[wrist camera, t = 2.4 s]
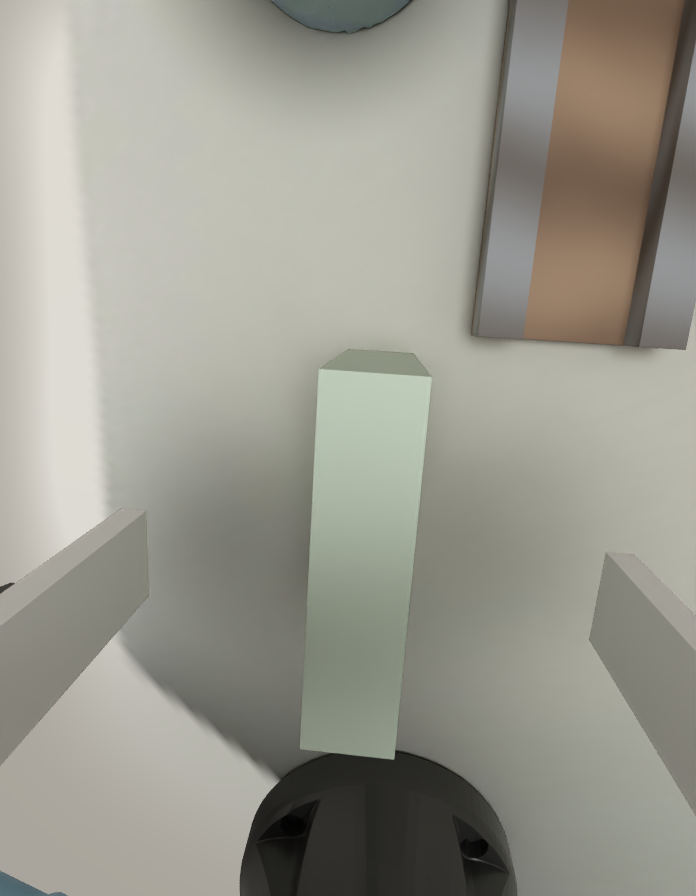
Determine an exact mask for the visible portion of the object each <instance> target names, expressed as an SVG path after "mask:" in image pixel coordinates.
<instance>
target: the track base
mask: <svg viewBox="0 0 696 896" xmlns="http://www.w3.org/2000/svg"><path fill="white" fill-rule="evenodd" d="M695 301H696V0H509V8H508V16H507V25H506V34H505V43H504V52H503V60H502V69H501V78H500V87H499V96H498V105H497V113H496V122H495V131H494V140H493V149H492V157H491V166H490V175H489V184H488V193H487V201H486V210H485V219H484V228H483V237H482V245H481V254H480V263H479V272H478V281H477V290H476V298H475V307H474V316H473V325H472V334H471V335H473V336H481V337H496V338H512V339H535V340H550V341H565V342H581V343H596V344H611V345H625V346H635V347H649V348H664V349H679V350H686V345H687V341H688V336H689V331H690V326H691V321H692V316H693V311H694V306H695Z"/></svg>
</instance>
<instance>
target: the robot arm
mask: <svg viewBox="0 0 696 896" xmlns="http://www.w3.org/2000/svg"><path fill="white" fill-rule="evenodd" d="M148 596H149V590H148V556H147V523H146V511H142V510H131V509H120V510H118V511H117V512H115V513H114V514H112V515H111V516H110V517H108V518H107V519H105V520H104V521H103V522H101V523H100V524H98V525H97V526H96V527H94V528H93V529H91V530H90V531H89V532H87V533H86V534H84V535H83V536H81V537H80V538H79V539H77V540H76V541H74V542H73V543H72V544H70V545H69V546H67V547H66V548H64V549H63V550H62V551H60V552H59V553H57V554H56V555H55V556H53V557H52V558H50V559H49V560H47V561H46V562H45V563H43V564H42V565H40V566H39V567H38V568H36V569H35V570H33V571H32V572H31V573H29V574H28V575H26V576H25V577H24V578H22V579H21V580H19V581H18V582H16V583H9V584H7V585H4V586H1V587H0V766H1V764H2V763H3V762H4V761H5V760H6V759H7V758H8V756H9V755H10V754H11V753H12V752H13V751H14V750H15V749H16V747H17V746H18V745H19V744H20V743H21V742H22V740H23V739H24V738H25V737H26V736H27V735H28V734H29V732H30V731H31V730H32V729H33V728H34V727H35V726H36V724H37V723H38V722H39V721H40V720H41V719H42V718H43V716H44V715H45V714H46V713H47V712H48V711H49V710H50V708H51V707H52V706H53V705H54V704H55V703H56V702H57V700H58V699H59V698H60V697H61V696H62V695H63V694H64V692H65V691H66V690H67V689H68V688H69V686H70V685H71V684H72V683H73V682H74V681H75V680H76V679H77V677H78V676H79V675H80V674H81V673H82V672H83V671H84V669H85V668H86V667H87V666H88V665H89V664H90V663H91V661H92V660H93V659H94V658H95V657H96V656H97V655H98V653H99V652H100V651H101V650H102V649H103V648H104V647H105V645H106V644H107V643H108V642H109V641H110V640H111V638H112V637H113V636H114V635H115V634H116V633H117V632H118V631H119V629H120V628H121V627H122V626H123V625H124V624H125V622H126V621H127V620H128V619H129V618H130V617H131V616H132V614H133V613H134V612H135V611H136V610H137V609H138V608H139V606H140V605H141V604H142V603H143V602H144V601H145V600H146V598H147V597H148ZM589 640H590V642H591V644H592V645H593V647H594V649H595V650H596V652H597V654H598V655H599V657H600V659H601V660H602V662H603V664H604V665H605V667H606V668H607V670H608V672H609V673H610V675H611V677H612V678H613V680H614V682H615V683H616V685H617V687H618V688H619V690H620V692H621V693H622V695H623V697H624V698H625V700H626V701H627V703H628V705H629V706H630V708H631V710H632V711H633V713H634V715H635V716H636V718H637V720H638V721H639V723H640V725H641V726H642V728H643V729H644V731H645V733H646V734H647V736H648V738H649V739H650V741H651V743H652V744H653V746H654V748H655V749H656V751H657V753H658V754H659V756H660V758H661V759H662V761H663V762H664V764H665V766H666V767H667V769H668V771H669V772H670V774H671V776H672V777H673V779H674V781H675V782H676V784H677V786H678V787H679V789H680V790H681V792H682V794H683V795H684V797H685V799H686V800H687V802H688V804H689V805H690V807H691V809H692V810H693V812H694V814H695V815H696V615H695V614H694V613H693V612H692V611H691V610H690V609H689V608H688V607H687V606H686V605H685V604H684V603H683V602H682V601H681V600H680V599H679V598H678V597H677V596H676V595H675V594H674V593H673V592H672V591H671V590H670V589H669V588H668V587H667V586H666V585H665V584H664V583H663V582H662V581H661V580H660V579H659V578H658V577H657V576H656V575H655V574H654V573H653V572H652V571H651V570H650V569H649V568H648V567H647V566H645V565H644V564H643V563H642V562H641V561H640V560H639V559H638V558H637V557H636V556H635V555H634V554H623V553H611V552H606V555H605V560H604V565H603V570H602V575H601V581H600V586H599V591H598V596H597V601H596V607H595V612H594V617H593V622H592V627H591V633H590V638H589ZM0 896H67V895H66V894H64V893H61V892H55V893H52V894H49V895H48V894H46V893H44V892H42V891H40V890H38V889H36V888H34V887H32V886H30V885H28V884H26V883H24V882H21V881H19V880H18V879H16V878H14V877H12V876H9V875H8V874H6V873H4V872H2V871H0ZM240 896H518V895H517V883H516V877H515V873H514V868H513V864H512V860H511V855H510V851H509V846H508V842H507V839H506V835H505V833H504V830H503V828H502V825H501V823H500V821H499V819H498V818H497V816H496V814H495V813H494V811H493V810H492V808H491V807H490V806H489V804H488V803H487V802H486V801H485V799H484V798H483V797H482V796H481V795H480V794H479V793H478V792H477V791H476V790H475V789H474V788H472V787H471V786H470V785H469V784H468V783H466V782H465V781H464V780H462V779H461V778H459V777H458V776H456V775H455V774H453V773H452V772H450V771H448V770H446V769H444V768H442V767H440V766H438V765H436V764H434V763H431V762H429V761H426V760H423V759H420V758H417V757H414V756H410V755H406V754H401V753H396V752H395V757H394V760H392V759H383V758H374V757H365V756H356V755H348V754H339V753H338V754H334V755H330V756H326V757H323V758H320V759H317V760H315V761H312V762H310V763H308V764H306V765H304V766H302V767H300V768H298V769H296V770H295V771H293V772H292V773H290V774H289V775H287V776H286V777H285V778H283V779H282V780H281V781H280V782H279V783H278V784H277V785H276V786H275V787H274V788H273V789H272V790H271V791H270V792H269V793H268V794H267V796H266V797H265V799H264V800H263V801H262V803H261V805H260V806H259V808H258V810H257V812H256V814H255V817H254V820H253V822H252V827H251V830H250V833H249V838H248V841H247V844H246V848H245V852H244V856H243V859H242V865H241V873H240Z"/></svg>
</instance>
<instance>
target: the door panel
mask: <svg viewBox="0 0 696 896" xmlns="http://www.w3.org/2000/svg"><path fill="white" fill-rule="evenodd" d="M431 382H432V376H431V375H430V374H429V373H428V371H427V370H426V369H425V367H424V366H423V365H422V363H421V362H420V361H419V360H418V358H417V357H416V356H415V354H413V353H398V352H384V351H369V350H354V349H348V350H347V351H345V352H344V353H342V354H341V355H339V356H338V357H336V358H335V359H333V360H332V361H330V362H329V363H327V364H326V365H324V366H323V367H321V368H320V369H319V373H318V393H317V413H316V433H315V453H314V473H313V493H312V513H311V532H310V552H309V572H308V592H307V612H306V632H305V652H304V672H303V692H302V712H301V732H300V749H303V750H312V751H321V752H330V753H339V754H348V755H356V756H365V757H374V758H383V759H392V760H394V757H395V747H396V737H397V726H398V716H399V706H400V696H401V686H402V676H403V666H404V656H405V645H406V635H407V625H408V615H409V605H410V595H411V585H412V574H413V564H414V554H415V544H416V534H417V524H418V514H419V504H420V493H421V483H422V473H423V463H424V453H425V443H426V433H427V422H428V412H429V402H430V392H431Z"/></svg>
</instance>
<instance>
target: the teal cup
mask: <svg viewBox="0 0 696 896" xmlns="http://www.w3.org/2000/svg"><path fill="white" fill-rule="evenodd" d="M271 1H272V2H273V3H274V4H275V5H277V6H278V7H279V8H280V9H281V10H283V11H284V12H285V13H286V14H288V15H289V16H290V17H292V18H294V19H295V20H297V21H299V22H300V23H302V24H304V25H305V26H307V27H309V28H313V29H319V30H325V31H330V32H341V31H345V32H347V33H348V34H350V33H353V32H356V31H358V30H360V29H361V28H362V27H367V28H371V27H372V26H373V25H375V24H376V23H381V22H383V21H385V20H386V19H387V18H388V17H390V16H392V15H394V14H395V13H396V12H397V11H399V10H400V9H401V8H403V7H404V6H405V5H406V4H407V3H408V2H409V1H411V0H271Z"/></svg>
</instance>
